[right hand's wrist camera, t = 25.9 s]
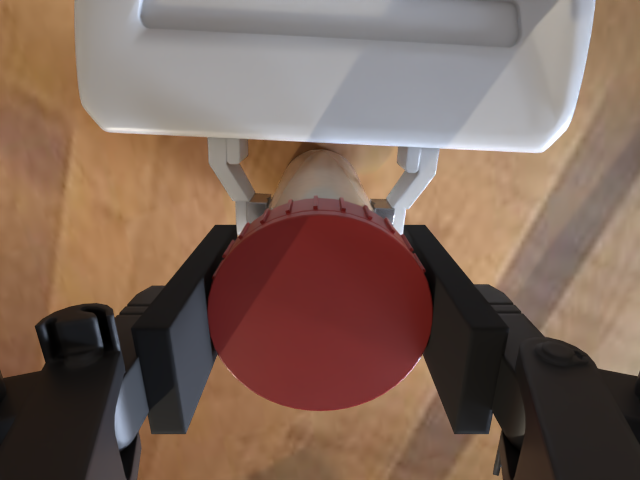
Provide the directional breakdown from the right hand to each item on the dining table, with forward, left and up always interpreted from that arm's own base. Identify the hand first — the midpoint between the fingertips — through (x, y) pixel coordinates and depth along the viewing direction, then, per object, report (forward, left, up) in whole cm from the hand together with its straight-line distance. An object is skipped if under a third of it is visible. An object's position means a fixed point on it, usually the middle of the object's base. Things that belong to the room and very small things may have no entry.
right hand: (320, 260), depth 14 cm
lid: (0, 0, +4) cm, 4 cm away
